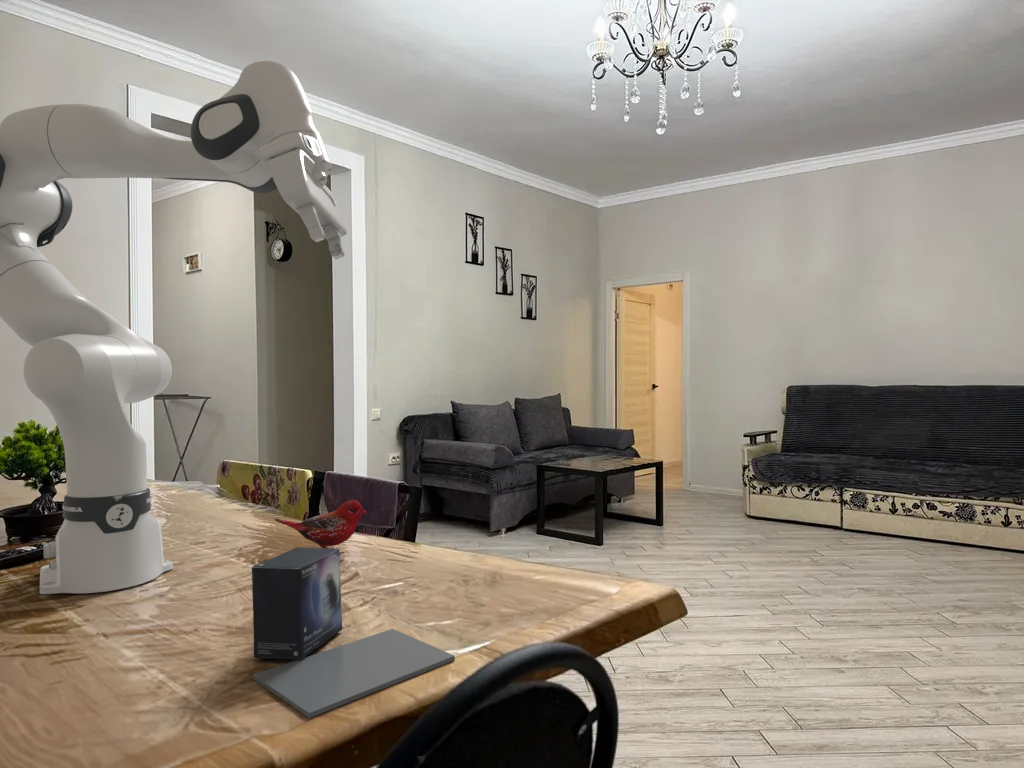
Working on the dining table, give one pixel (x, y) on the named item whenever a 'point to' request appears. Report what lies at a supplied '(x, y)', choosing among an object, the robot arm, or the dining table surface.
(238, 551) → the dining table surface
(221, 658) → the dining table surface
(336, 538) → the decorative bird figurine
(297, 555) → the small box
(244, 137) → the robot arm
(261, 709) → the dining table surface
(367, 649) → the slate tile
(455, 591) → the dining table surface
